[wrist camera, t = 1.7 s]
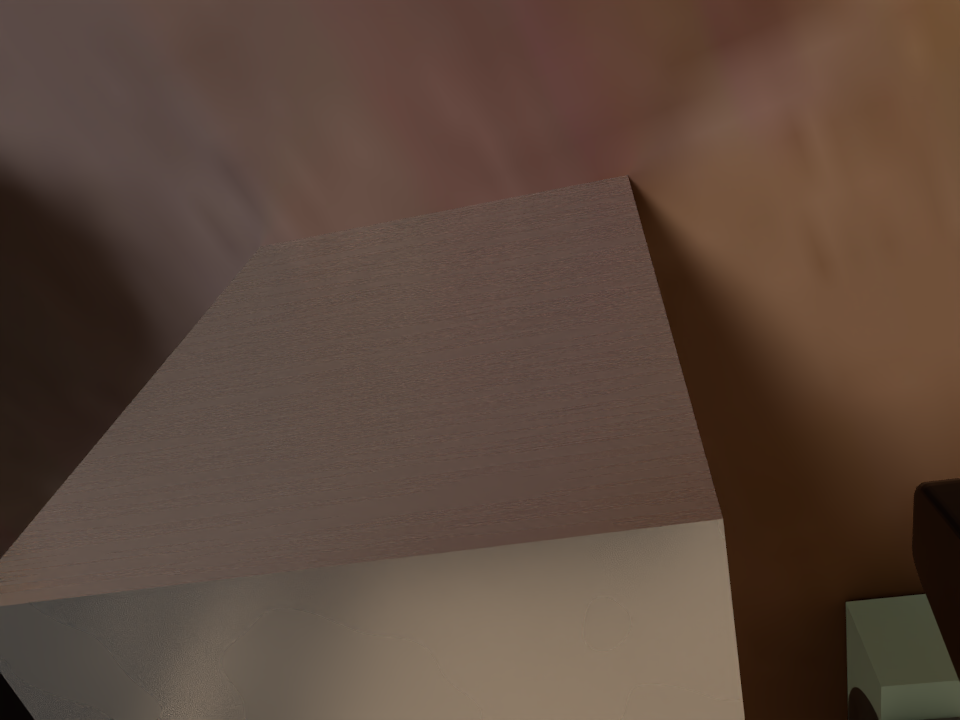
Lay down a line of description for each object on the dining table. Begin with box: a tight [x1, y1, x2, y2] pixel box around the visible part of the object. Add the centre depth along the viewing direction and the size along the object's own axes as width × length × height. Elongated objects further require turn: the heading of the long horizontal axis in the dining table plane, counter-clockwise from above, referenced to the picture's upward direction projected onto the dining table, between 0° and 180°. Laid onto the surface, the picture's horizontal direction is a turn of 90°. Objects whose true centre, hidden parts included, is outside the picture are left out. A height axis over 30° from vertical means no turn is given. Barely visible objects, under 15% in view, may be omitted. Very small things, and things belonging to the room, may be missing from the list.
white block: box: [0, 175, 745, 720], centre depth 9 cm, size 6×4×6 cm
